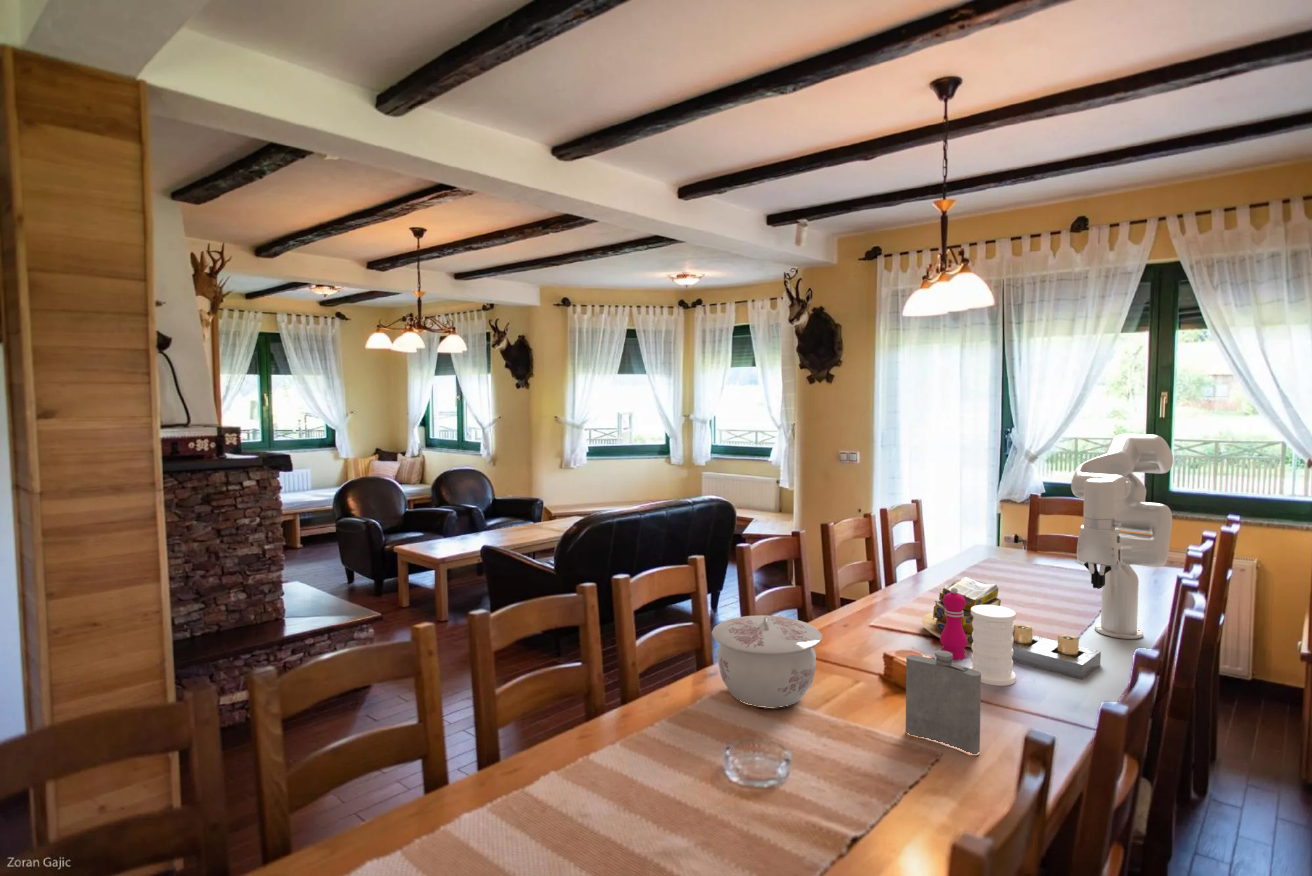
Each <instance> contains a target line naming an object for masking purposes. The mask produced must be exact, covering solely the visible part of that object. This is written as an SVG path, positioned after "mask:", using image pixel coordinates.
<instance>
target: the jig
mask: <svg viewBox="0 0 1312 876" xmlns="http://www.w3.org/2000/svg"><path fill="white" fill-rule="evenodd" d="M1013 625H1014V631H1013V634H1012V636H1013V638H1014V641H1013V644H1012V648H1013V652H1014V653H1013V656H1012V660H1013V663H1017V664H1018V663H1019V664H1022V665H1026V666H1030V667H1034V668H1037V669H1040V670H1044V671H1047V672H1052V673H1055V674H1056V673H1057V674H1059V675H1064V676H1066V677H1070V678H1075V679H1079V680H1082V681H1083V680H1084V679H1086V677H1088V676H1089V675H1090V674H1091V673H1093V672H1094V671H1095V670H1096V669H1098V668H1099V667H1100V666H1101V659H1102V655H1101V654H1102V653H1101V650H1097V649H1092V648H1088V647H1083V646H1081V645H1080V646H1079V650H1078V658H1073V657H1069V656H1065V655H1061V654H1057V652H1058V640H1054V639H1050V638H1046V637H1041V636H1038V635H1033V627H1031V626H1029V625H1026V624H1019V623H1018V624H1013Z"/></svg>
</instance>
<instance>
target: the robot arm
mask: <svg viewBox="0 0 1312 876" xmlns="http://www.w3.org/2000/svg"><path fill="white" fill-rule="evenodd" d="M1173 463H1174V457H1173V452H1172V449H1171V448H1170V446H1169V444H1168V443H1167V441H1166V440H1165V439H1164V438H1163V437H1162V436H1160V435H1157V434H1138V433H1123V434H1118V435H1115V436H1114V437H1113V438H1112V439H1111V440H1110V441H1109V444H1108V445H1107V448H1106V449H1105V451H1104V453H1103V455H1100V456H1099V455H1098V456H1096V457H1094V458H1091V459H1088V460H1086V461H1084V462H1083V463H1081V464H1080V465H1079V466H1078V467H1077V469H1076V471H1075V472H1074V474H1073V476H1072V479H1071V484H1070V488H1071V492H1072V494H1073V495H1074V497H1076V498H1078V499H1083V519H1082V522H1083V524H1082V525H1081V526H1080V528H1079V532H1078V538H1077V544H1076V545H1077V546H1076V558H1077V559H1076V563H1077V565H1081V566H1083V567H1085V568H1086V570H1088V572H1089V574H1091V577H1090V579H1091V580H1090V583H1091V585H1092V588H1093V589H1097V590H1101V606H1100V607H1101V608H1100V622H1099V623H1096V624H1094V630H1095V631H1096V632H1098V633H1099V634H1101V635H1104V636H1108V637H1111V638H1117V639H1123V640H1124V639H1125V640H1135V639H1140V638H1142V637H1144V636H1143V635H1144V631H1143V630H1142V629H1140V628H1138V615H1139V613H1138V612H1139V609H1138V607H1139V585H1140V582H1139V577H1138V574H1137V573H1136V571H1135V570H1134V569H1133V567H1132V566H1142V567H1148V568H1163V567H1165V565H1166V564H1167V561H1168V557H1169V554H1170V553H1169V552H1170V545H1171V543H1170V542H1171V535H1172V526H1173V514H1172V510H1171V508H1170V507H1169V506H1168V505H1166V504H1163V503H1159V502H1149V501H1148V502H1147V501H1146V496H1147V488H1146V485H1144V483H1143V481H1141V479H1139V478H1138V476H1137V475H1135V474H1134V473H1141V474H1143V473H1145V474H1146V473H1147V474H1159V475H1160V474H1166V473H1169V471H1170V470H1171V469H1172V467H1173ZM1098 565H1099V569H1098ZM1131 565H1132V566H1131Z"/></svg>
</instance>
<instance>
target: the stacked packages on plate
mask: <svg viewBox="0 0 1312 876" xmlns="http://www.w3.org/2000/svg"><path fill="white" fill-rule="evenodd" d="M952 588H957V590H958V592H957V593H959V594H961V595H962V596H963V597H964V598H965V602H966V604H965V607H964V608H963V609H962V610H963V611H964V612H963V614H964V615H963V616H962V619H961V623H962V628H963V631H964V633H965V635H966V638H967V646H966V647H967V648H972V643H973V639H972V632H973V627H972V621H973V620H974V616H972V615H971V607H973V606H976V605H996V606H1001V602H1002V600H1001V599H1000V598H998V595H999V587H998V585H997V583H993V584H992V583H991V584H988V583H986V582H982V581H979V580H975V579H973V578H969V577H967V576H965V577H963V578H960V579H959V580H956V581H953V582H952V583H951V584H948V585H946V586H943V588H942V590H941V591H939V594H938V598H939V600H938V601H937V600H934V603H935V605H934V606H933V611H932V612H928V613H926V614H925V615H924V616H923V617H922V619H921V624H922V626H923V627H924V628H925V629H926V630H927V631H928V632H929V633H931V634H932V635H933V636H935V637H937V638H938V639H940V637H941V633H942V631H943V629H944V627H945V625H946V620H947V618H946V614H945V608H946V607H945V606H944V604H943V598H944V596H945V595H946V594H948V593H951V589H952ZM966 647H965V648H966Z"/></svg>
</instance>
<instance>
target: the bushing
mask: <svg viewBox="0 0 1312 876" xmlns="http://www.w3.org/2000/svg"><path fill="white" fill-rule="evenodd" d="M1079 639H1080V638H1078V637H1076V636H1074V635H1068V634H1059V635H1057V641H1058V652H1057V654H1061V655H1065V656H1069V657H1073V658H1078V650H1079V644H1080V642H1079Z"/></svg>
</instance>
